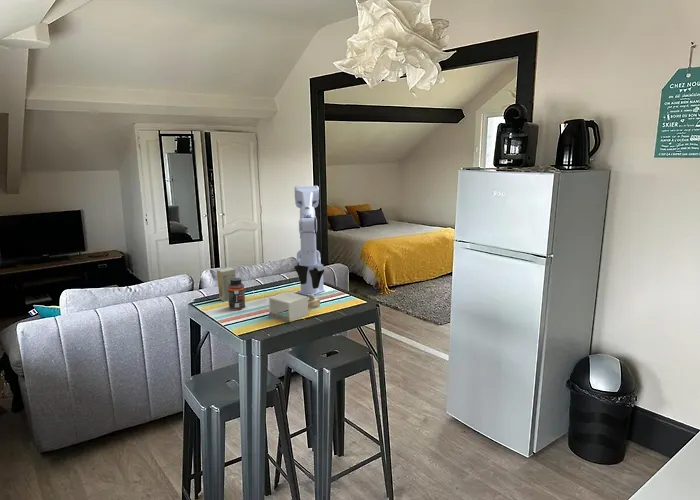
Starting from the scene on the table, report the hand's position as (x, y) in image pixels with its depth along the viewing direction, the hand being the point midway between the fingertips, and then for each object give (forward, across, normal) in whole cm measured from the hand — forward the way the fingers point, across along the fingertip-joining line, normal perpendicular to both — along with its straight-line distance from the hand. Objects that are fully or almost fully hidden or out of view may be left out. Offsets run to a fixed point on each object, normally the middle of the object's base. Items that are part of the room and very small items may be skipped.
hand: (309, 285), depth 180 cm
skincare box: (+9, -31, -18) cm, 37 cm away
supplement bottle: (+9, -18, -20) cm, 29 cm away
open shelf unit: (+8, +2, -11) cm, 14 cm away
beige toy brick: (+9, 0, -1) cm, 9 cm away
